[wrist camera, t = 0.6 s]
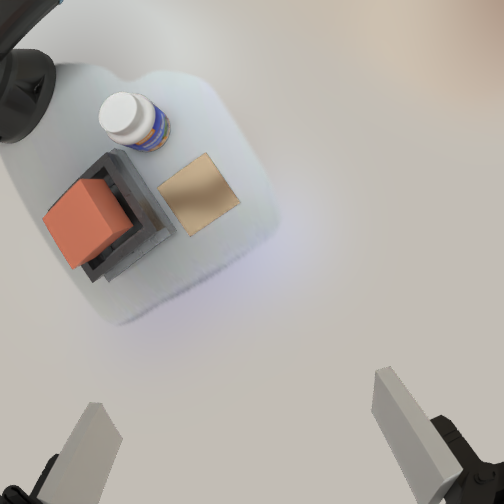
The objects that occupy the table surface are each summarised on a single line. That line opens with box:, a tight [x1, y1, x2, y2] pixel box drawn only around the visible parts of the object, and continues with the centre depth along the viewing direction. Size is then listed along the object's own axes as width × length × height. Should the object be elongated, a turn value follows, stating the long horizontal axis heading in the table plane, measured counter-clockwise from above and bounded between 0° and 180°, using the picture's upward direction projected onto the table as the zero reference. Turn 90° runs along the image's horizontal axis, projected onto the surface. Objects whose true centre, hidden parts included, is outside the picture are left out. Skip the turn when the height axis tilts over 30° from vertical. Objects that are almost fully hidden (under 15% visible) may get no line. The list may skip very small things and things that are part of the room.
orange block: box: [43, 179, 133, 269], centre depth 25 cm, size 6×6×5 cm
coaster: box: [157, 153, 240, 237], centre depth 33 cm, size 7×7×1 cm
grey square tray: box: [48, 148, 177, 283], centre depth 30 cm, size 12×10×6 cm
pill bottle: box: [99, 92, 170, 152], centre depth 26 cm, size 5×5×10 cm
